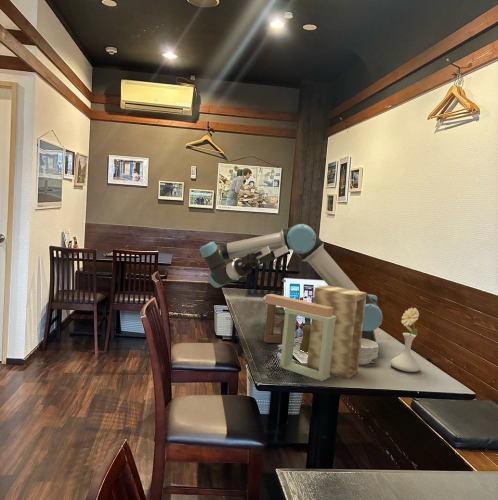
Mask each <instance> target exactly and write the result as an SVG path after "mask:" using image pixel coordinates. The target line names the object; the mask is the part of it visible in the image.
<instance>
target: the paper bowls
mask: <svg viewBox="0 0 498 500" xmlns="http://www.w3.org/2000/svg"><path fill="white" fill-rule="evenodd" d="M378 353H379V344H378V342H377V341H376V342H374V341H371V340H368V339H364V338H362V339H361V348H360V357H359V365H368V364H370V363H372V361H373V360H375V359H377V358H378V355H379V354H378Z"/></svg>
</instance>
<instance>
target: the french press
mask: <svg viewBox="0 0 498 500" xmlns="http://www.w3.org/2000/svg"><path fill="white" fill-rule="evenodd" d="M281 282H283V284H282V287H284V283H286V282H287V280H286V279H284V278H283V279H282V280H281ZM283 293H284V290H282V294H281V296H284V295H283ZM284 315H285V309H282V308H279V309H278V308H276V311H275V322H274V324H275V323H276V322H277V321H278V320H280V319H281V318H282V317H283V316H284ZM273 333H277V334H281V327H274V332H273Z"/></svg>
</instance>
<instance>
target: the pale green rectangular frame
mask: <svg viewBox="0 0 498 500" xmlns="http://www.w3.org/2000/svg"><path fill="white" fill-rule="evenodd" d="M284 310H285V320H284V330H283V340H282V344H281V353H280V362H279V365H278V367H279V368H280V369H284V370H287V371H290V372H293V373H296V374H299V375H302V376H305V377H308V378H310V379H314V380H318V381H321V382H323V381H326V380H327V379H329V378H330V377H331V374H330V366H331V356H332V347H333V338H334V329H335V321H336V317H337V316H334V315H333V316H331V317H328V318H327V317H323V316H319V315H315V314H310V313H306V312H302V311H298V310H293V309H289V308H285V307H284ZM297 316H299V317H301V318H307V319H310V320H312V319H314V320H318V321H322V322H324V326H323V335H322V344H321V354H320V363H319V370H316V369H312V368H309V367H307V366H304V365H301V364H297V363H295V362H293V356H294V346H295V335H296V327H297Z"/></svg>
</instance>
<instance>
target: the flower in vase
mask: <svg viewBox="0 0 498 500" xmlns="http://www.w3.org/2000/svg"><path fill="white" fill-rule="evenodd" d="M419 317H420V313H419V310H418V309H417V308H416V307H414V308H413V307H410V308H408V309H407V310H404V313H403V314H402V316H401V320H400V322H401V324H403V327H406V329H407V330H408V331H409V332H410V333H409V332H403V333H402V335H403V339H404V349H403V352H402V353H400V354H398V355H397V356H395V357H393V358H392V359H391V360H390V365H391V366H392V367H393V368H394V369H397V370H400V371H403V372H410V373H413V372H419V371H420V370H421V369H422V366H421V364H420V363H419V361H418V360H417V359H416V358H415V357H414V356H413V355H412V353H411V352H412V351H411V349H412V343H413V341H414V339H415V338H416V337H417V336H418V328H415V323H416V321H418V320H419ZM412 325H413V328H411V327H410V326H412Z"/></svg>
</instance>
